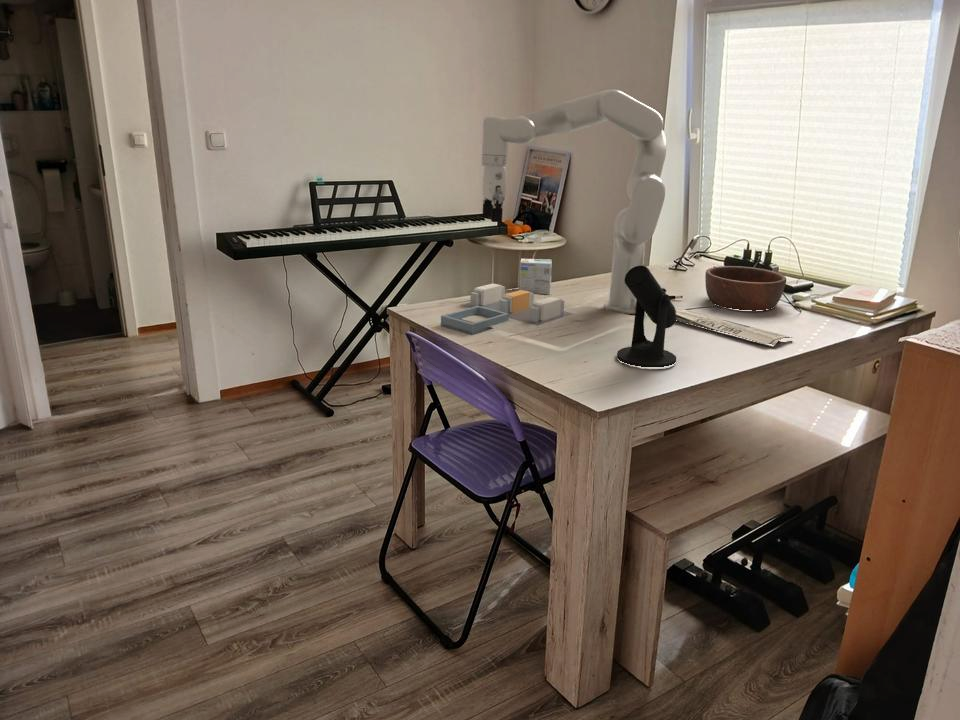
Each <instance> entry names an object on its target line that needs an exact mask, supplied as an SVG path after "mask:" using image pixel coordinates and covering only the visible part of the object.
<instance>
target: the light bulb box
mask: <svg viewBox="0 0 960 720" xmlns="http://www.w3.org/2000/svg"><path fill="white" fill-rule="evenodd" d="M552 264H553V262H552V259H544V258H543V259H542V258H539V259H538V258H537V259H536V258H520V261H519V276H518V277H519V279H518V281H519V282H518V284H519V285H518V291H519V290H524V291H528V292H531V293H534V295H535V294H536V295H537V294H538V295H550V294H551V288H552V287H551V286H552V285H551V284H552V269H553V267H552Z"/></svg>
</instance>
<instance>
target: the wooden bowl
mask: <svg viewBox="0 0 960 720" xmlns="http://www.w3.org/2000/svg"><path fill="white" fill-rule="evenodd" d="M704 278H705V280H704V281H705V291H706V295H707V297H708V300H709V302H710V303H711V302H712V303H711V304H713V305H714V304H716V305H719V306H722V307H726V308H732V309H739V310H752V311H756V310H766V309H771V308H772V309H774V308H775V307H776V306H777V305H778V303H779V302H780V300H781V298H782V296H783V293H784V290H785V287H786V284H787V278H786V276H785V275H783V274H782V273H780V272H777V271H773V270H769V269H765V268H759V267H751V266H741V265H737V266H736V265H721V266H720V265H719V266H713V267H710V268H708V269H706V271H705V277H704ZM716 305H715V306H716ZM719 306H718V307H719ZM722 307H721V308H722ZM773 307H774V308H773ZM772 309H771V310H772Z"/></svg>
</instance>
